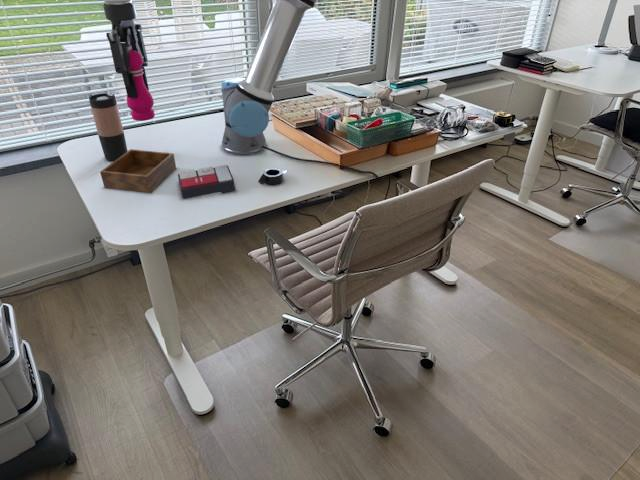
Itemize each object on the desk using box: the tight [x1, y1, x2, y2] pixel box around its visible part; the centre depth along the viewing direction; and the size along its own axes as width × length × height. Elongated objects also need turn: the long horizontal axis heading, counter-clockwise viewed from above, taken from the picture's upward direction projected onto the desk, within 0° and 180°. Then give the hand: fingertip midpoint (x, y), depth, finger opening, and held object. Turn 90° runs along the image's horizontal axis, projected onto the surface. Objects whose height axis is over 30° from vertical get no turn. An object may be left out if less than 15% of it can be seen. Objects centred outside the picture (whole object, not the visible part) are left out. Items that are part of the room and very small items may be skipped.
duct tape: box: [257, 167, 288, 187], centre depth 139 cm, size 8×10×3 cm
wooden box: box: [99, 148, 177, 194], centre depth 138 cm, size 15×17×5 cm
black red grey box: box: [177, 164, 236, 200], centre depth 135 cm, size 11×4×15 cm
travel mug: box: [88, 93, 128, 163], centre depth 146 cm, size 8×8×20 cm
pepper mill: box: [126, 45, 156, 122], centre depth 128 cm, size 7×7×20 cm
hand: (138, 93), depth 130 cm, fingers closed on pepper mill, 6 cm apart
